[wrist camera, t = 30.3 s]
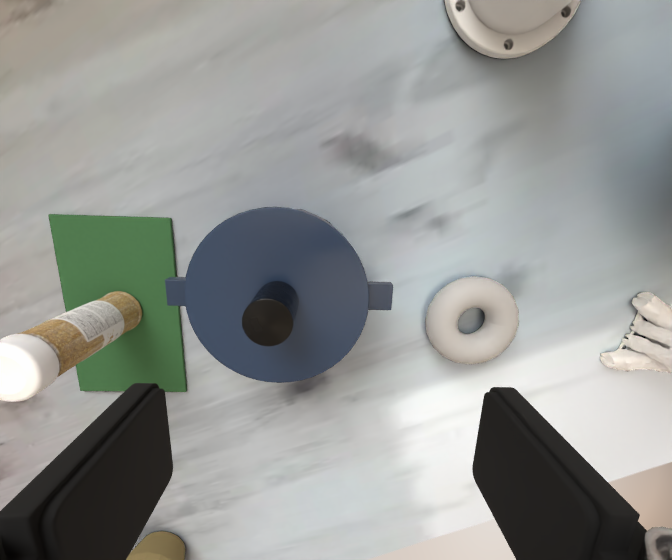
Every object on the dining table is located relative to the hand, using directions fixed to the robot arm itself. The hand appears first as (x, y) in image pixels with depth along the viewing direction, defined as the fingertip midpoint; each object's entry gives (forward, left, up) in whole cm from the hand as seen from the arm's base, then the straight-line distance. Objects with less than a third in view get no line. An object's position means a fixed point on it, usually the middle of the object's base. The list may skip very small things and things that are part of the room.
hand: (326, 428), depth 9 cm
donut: (+6, +16, -26) cm, 32 cm away
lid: (+2, -4, -19) cm, 19 cm away
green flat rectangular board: (+6, -22, -26) cm, 35 cm away
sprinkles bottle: (+6, -22, -26) cm, 35 cm away
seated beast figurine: (+8, +38, -26) cm, 47 cm away
